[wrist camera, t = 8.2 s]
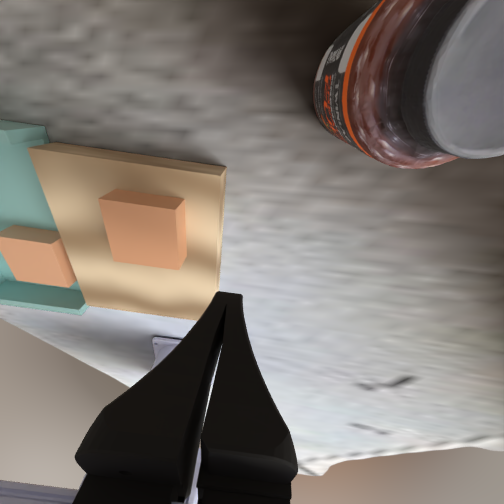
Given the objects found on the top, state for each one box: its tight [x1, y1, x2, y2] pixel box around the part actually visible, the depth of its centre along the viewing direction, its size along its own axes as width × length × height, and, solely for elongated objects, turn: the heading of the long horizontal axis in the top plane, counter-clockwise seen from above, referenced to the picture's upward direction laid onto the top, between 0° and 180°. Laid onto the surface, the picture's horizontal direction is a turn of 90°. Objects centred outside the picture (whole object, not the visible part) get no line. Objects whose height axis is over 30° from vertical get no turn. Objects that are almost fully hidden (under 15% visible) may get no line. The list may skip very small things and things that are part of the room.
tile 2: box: [0, 225, 77, 288], centre depth 22 cm, size 5×5×2 cm
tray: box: [0, 120, 89, 315], centre depth 20 cm, size 17×10×3 cm, turn 173°
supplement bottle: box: [313, 0, 504, 169], centre depth 10 cm, size 6×6×11 cm
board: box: [27, 142, 227, 321], centre depth 21 cm, size 15×13×2 cm
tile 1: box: [98, 189, 187, 270], centre depth 17 cm, size 5×5×2 cm
